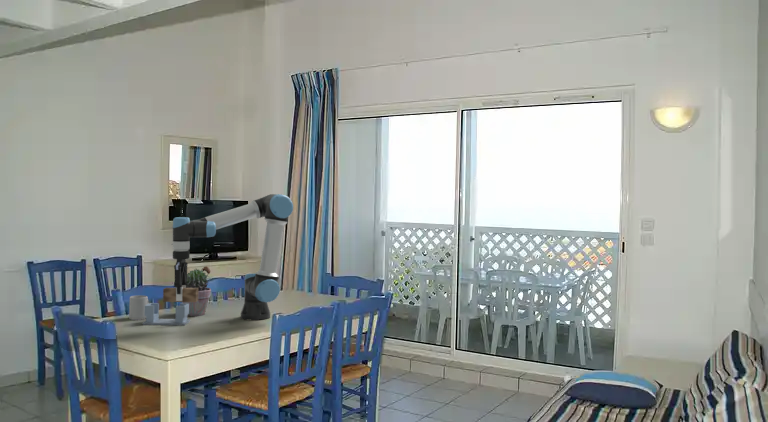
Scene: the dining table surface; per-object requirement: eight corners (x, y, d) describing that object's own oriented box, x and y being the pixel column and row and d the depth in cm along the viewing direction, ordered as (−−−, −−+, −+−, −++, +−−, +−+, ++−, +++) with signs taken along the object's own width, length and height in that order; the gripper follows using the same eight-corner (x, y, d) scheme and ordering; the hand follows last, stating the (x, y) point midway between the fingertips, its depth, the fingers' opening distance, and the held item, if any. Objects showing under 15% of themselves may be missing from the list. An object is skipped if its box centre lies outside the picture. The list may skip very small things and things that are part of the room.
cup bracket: (190, 321, 309) (190, 303, 309) (184, 325, 299) (184, 306, 299) (149, 320, 308) (149, 302, 308) (142, 324, 298) (142, 306, 298)
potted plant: (167, 315, 321) (168, 267, 321) (192, 310, 339) (193, 264, 339) (195, 319, 315) (196, 270, 314) (219, 313, 333) (220, 266, 332)
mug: (140, 320, 308) (140, 298, 308) (125, 319, 310) (125, 297, 310) (154, 316, 320) (155, 294, 320) (140, 315, 322) (140, 293, 322)
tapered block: (198, 300, 294) (198, 287, 293) (195, 302, 289) (195, 289, 289) (166, 300, 293) (166, 287, 293) (163, 301, 288) (163, 288, 288)
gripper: (178, 248, 299) (178, 296, 300) (167, 251, 281) (166, 303, 282) (194, 248, 299) (194, 296, 300) (183, 252, 282) (183, 303, 282)
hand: (180, 299), depth 291 cm, fingers closed on tapered block, 4 cm apart
